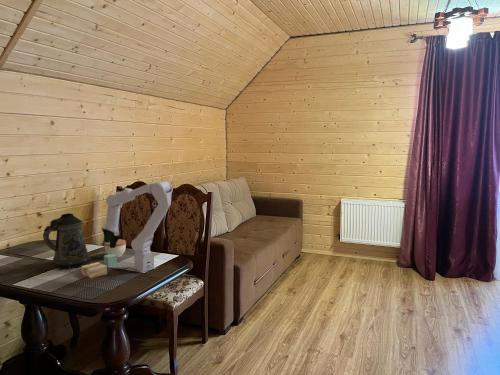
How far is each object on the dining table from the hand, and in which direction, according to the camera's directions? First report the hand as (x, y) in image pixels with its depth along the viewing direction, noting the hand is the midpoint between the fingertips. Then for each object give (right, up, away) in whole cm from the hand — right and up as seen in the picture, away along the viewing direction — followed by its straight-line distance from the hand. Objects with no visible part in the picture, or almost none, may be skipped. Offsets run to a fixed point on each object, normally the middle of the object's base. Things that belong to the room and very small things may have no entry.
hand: (109, 245), depth 192 cm
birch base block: (-3, -12, -12) cm, 17 cm away
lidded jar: (-2, -8, +15) cm, 17 cm away
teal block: (0, -10, 0) cm, 10 cm away
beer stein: (-19, -10, 0) cm, 22 cm away
